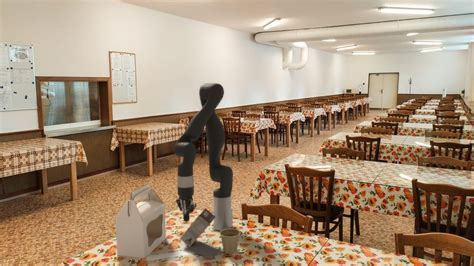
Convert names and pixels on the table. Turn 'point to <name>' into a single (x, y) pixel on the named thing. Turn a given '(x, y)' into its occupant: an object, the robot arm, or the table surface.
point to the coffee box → (197, 227)
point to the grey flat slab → (204, 250)
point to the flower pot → (230, 240)
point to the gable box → (140, 224)
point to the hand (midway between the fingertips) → (186, 220)
